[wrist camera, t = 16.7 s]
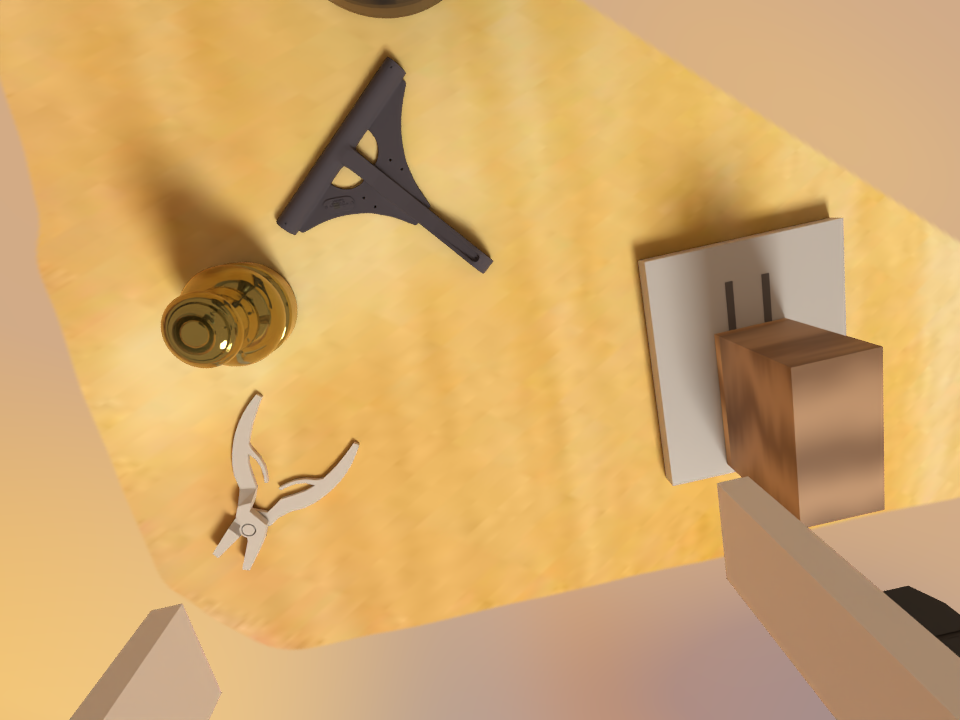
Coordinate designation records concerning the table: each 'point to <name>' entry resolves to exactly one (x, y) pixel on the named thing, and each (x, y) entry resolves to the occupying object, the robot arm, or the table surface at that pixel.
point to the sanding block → (804, 417)
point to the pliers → (257, 520)
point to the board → (729, 324)
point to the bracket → (372, 172)
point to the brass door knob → (230, 316)
